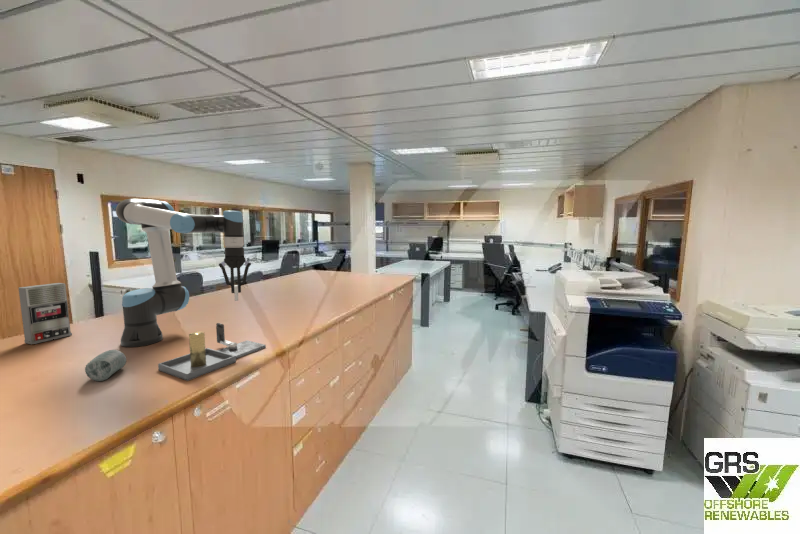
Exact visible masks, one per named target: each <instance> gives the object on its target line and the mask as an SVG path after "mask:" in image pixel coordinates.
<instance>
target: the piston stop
mask: <svg viewBox="0 0 800 534" xmlns="http://www.w3.org/2000/svg"><path fill="white" fill-rule="evenodd" d="M205 336H206V334H205V332H204V331H194V332H190V333H189V334H188V342H189V343H188V344H189V354H190V361H191V367H201V366H204V365H205V364H206V351H205V349H206V337H205Z"/></svg>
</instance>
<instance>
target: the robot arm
mask: <svg viewBox="0 0 800 534" xmlns="http://www.w3.org/2000/svg"><path fill="white" fill-rule="evenodd" d="M115 214H116V216H117V218H118V219H119V220H120V221H121V222H123V223H126V224H129V225H138V226H139V225H140V226H141V230H142V231H143V232H145V233H146V236H147V243H148V247H149V253H150V259H151V264H152V269H153V275H154V284H153V285H152V288H151V287H150V288H149V287H146V288H139V289H134V290H131V291H128V292H126V293H125V294H124V295H122V298H121V299H122V301H121V302H122V303H121V306H122V313H123V324H124V325H123V330H122V334H121V337H120V346H121V347H124V348H136V347H137V348H138V347H144V346H149V345H152V344H156V343H159V342H161V341H163V337H164V335H163V332H162V330H161V328H160V326H159V324H158V319H157V318H158V317H157V316H160V315H165V314H168V313H173V312H177V311H180V310H183V309H184V308H185V307H187V305H188V304H189V301H190V292H189V290H188V289H187V287H185V286H183V284H182V282H181V281H179V280H178V279H177V273H176V266H175V262H174V255H173V251H172V244H171V238H170V232H169V231H170V230H173V232H175V233H178V234H180V233H181V234H191V233H192V234H193V233H194V234H195V233H196V234H197V233H198V234H199V233H200V234H201V233H211V234H212V233H213V234H214V233H218V234H219V233H223V238H224V239H223V241H224V259H223V261H221V262H219V263H218V266H219V268H220V270H221V272H222V275H223V278H224V281H225V284H226V285H227V286H229V287H230V288H231V289H230V290H231V294H234V295H233V296H234V302H238V301H239V294H240V293H242V285H245V284H246V280H247V276H248V272H249V268H250V266H251V265H252V263H251V261H248V260H247V259H246V257H245V248H244V247H243V246H245V244H244V243H245V241H244V240H245V239H244V218H243V213H242V211H240V210H223V212H222V215H218V214H195V213H194V214H192V213H186V212H185V213H184V212H179V211H176V210H175V209H174V207H173V206H172V205H171V204H169V203H168V202H167V201H163V200H158V199H143V198H128V199H127V198H126V199H124V200H122V201H120V202H118V204H117V205H116V207H115ZM243 265H244V266H245V267H244V272H243V276H242V279H241V268H242V266H243ZM225 266H227V267H228V268H230V279H229V277H228V274H227V270H226V267H225ZM235 269H236V278H237V282H236V283H237V284H235V276H234V275H235V274H234V273H235V272H234V270H235Z"/></svg>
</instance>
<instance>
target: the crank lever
mask: <svg viewBox="0 0 800 534" xmlns="http://www.w3.org/2000/svg"><path fill="white" fill-rule="evenodd" d="M215 329H216V343H218V344H221V345H223V346H226V347H227V346H228V347H229V349H230V350H233V349H237V342H235V341H229V340H227V339H225V338H226V337H225V336H226V335H225V325H224V324H223V323H221V322H217V323H216V325H215Z"/></svg>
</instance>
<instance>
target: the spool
mask: <svg viewBox="0 0 800 534" xmlns="http://www.w3.org/2000/svg"><path fill="white" fill-rule="evenodd" d="M126 364H127V357H126V355H125V353H124V352H123V351H120V350H118V349H109V350H105V351H104V352H102V353H100V354H98V355H96V356H95V357H94V358H92V360H90V361H89V362H88V363H87V364H86V365H85V367H84V372H85V374H86V376H87V377H88V378H89V379H91V380H92V381H96V382H103V381H106V380H108V379H109V378H110V377H111V376H112V375H113V374H115V373H116V372H118V371H119V370H121V369H122V368H124V366H125V365H126Z"/></svg>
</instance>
